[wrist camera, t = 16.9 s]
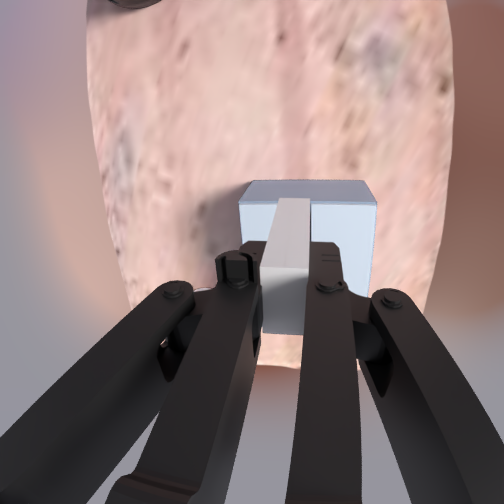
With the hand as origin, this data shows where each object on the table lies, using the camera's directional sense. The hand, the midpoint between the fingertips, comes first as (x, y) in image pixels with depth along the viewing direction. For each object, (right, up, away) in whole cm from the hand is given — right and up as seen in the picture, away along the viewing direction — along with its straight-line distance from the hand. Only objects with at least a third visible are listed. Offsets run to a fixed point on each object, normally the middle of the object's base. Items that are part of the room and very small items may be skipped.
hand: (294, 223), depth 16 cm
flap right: (+9, -4, +23) cm, 25 cm away
